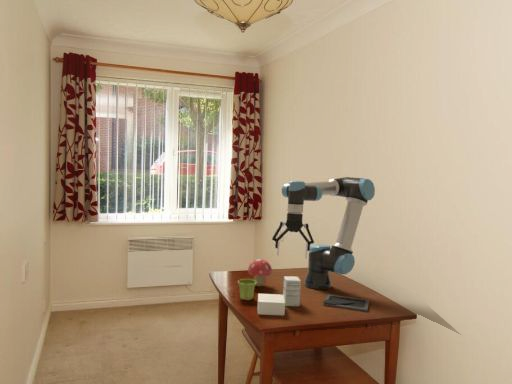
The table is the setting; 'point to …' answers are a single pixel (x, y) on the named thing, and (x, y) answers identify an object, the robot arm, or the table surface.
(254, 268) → the decorative mushroom
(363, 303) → the picture frame
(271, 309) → the plinth
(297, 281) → the supplement box
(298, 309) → the table surface
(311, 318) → the table surface
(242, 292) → the plant pot
